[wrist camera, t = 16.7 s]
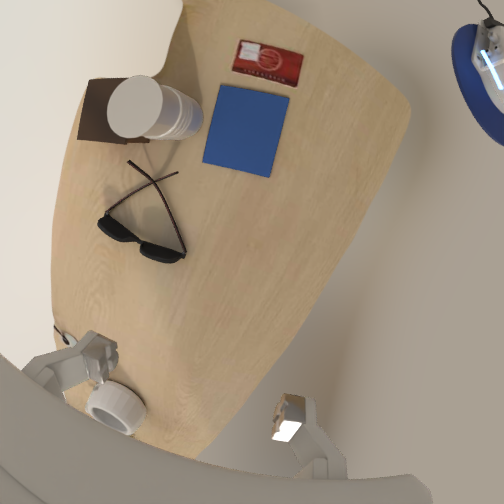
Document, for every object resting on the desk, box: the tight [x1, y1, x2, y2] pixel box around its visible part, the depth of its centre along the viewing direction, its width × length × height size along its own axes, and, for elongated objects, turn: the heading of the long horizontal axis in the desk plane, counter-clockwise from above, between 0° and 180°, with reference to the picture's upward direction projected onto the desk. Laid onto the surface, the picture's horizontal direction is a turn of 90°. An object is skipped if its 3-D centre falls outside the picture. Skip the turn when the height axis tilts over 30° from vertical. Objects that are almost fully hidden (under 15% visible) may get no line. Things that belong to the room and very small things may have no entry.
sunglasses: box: [97, 160, 187, 263], centre depth 39 cm, size 17×14×5 cm
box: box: [77, 78, 150, 145], centre depth 33 cm, size 9×9×8 cm
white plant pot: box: [85, 380, 146, 436], centre depth 58 cm, size 21×17×10 cm
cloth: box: [202, 85, 289, 178], centre depth 36 cm, size 12×10×1 cm
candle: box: [107, 75, 203, 140], centre depth 29 cm, size 7×7×15 cm
